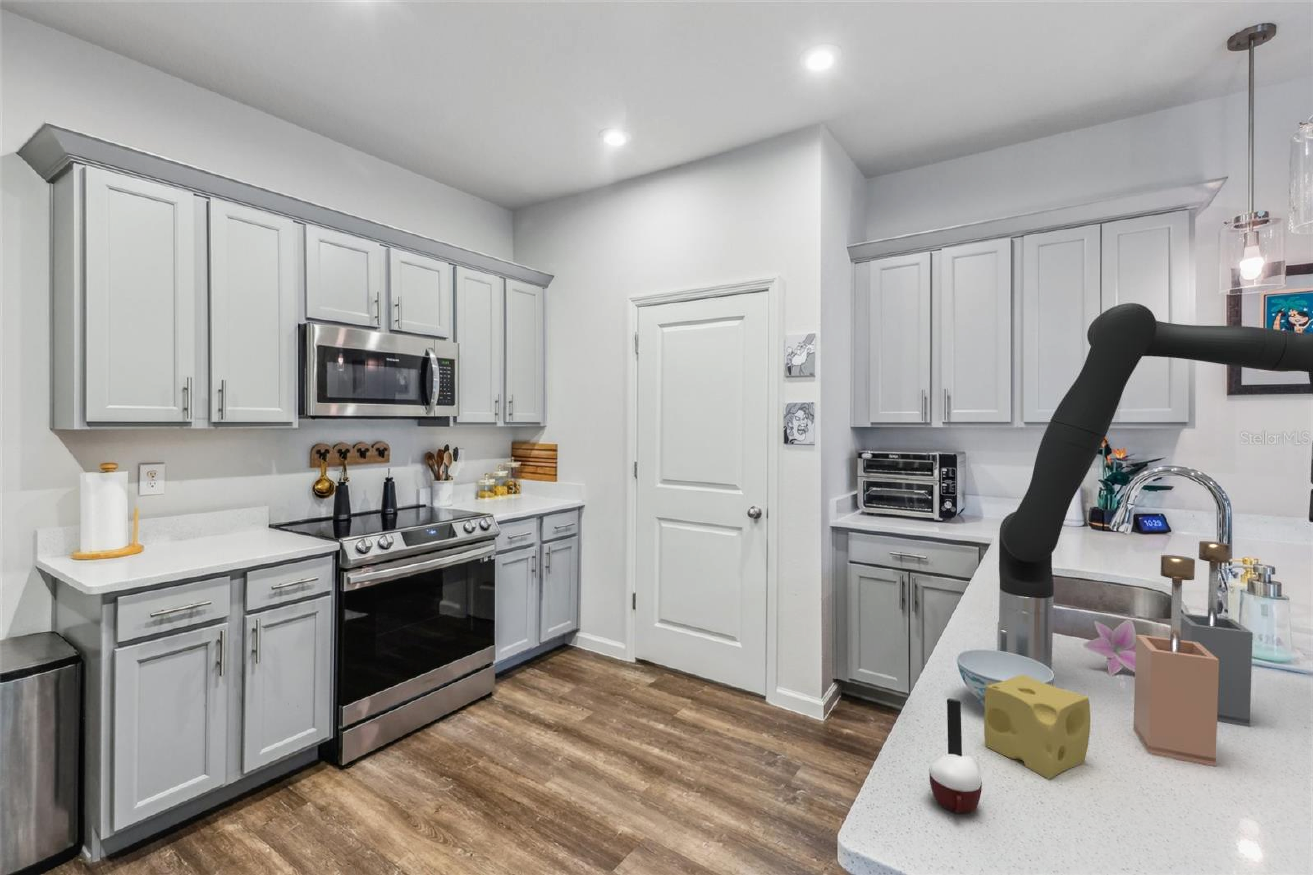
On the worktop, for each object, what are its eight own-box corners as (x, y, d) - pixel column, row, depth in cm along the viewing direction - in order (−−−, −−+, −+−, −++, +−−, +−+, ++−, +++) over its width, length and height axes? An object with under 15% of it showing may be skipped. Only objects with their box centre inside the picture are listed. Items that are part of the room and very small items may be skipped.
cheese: (1050, 781, 85) (1052, 712, 85) (979, 745, 95) (980, 682, 94) (1090, 763, 90) (1092, 697, 90) (1019, 730, 100) (1020, 670, 99)
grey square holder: (1188, 716, 104) (1191, 625, 104) (1172, 697, 112) (1175, 612, 111) (1249, 726, 101) (1252, 632, 101) (1229, 706, 108) (1232, 618, 108)
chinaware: (937, 697, 111) (938, 656, 111) (993, 684, 117) (994, 644, 117) (1013, 736, 97) (1014, 689, 97) (1072, 719, 103) (1074, 674, 103)
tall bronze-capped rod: (1198, 637, 105) (1201, 544, 104) (1187, 628, 109) (1190, 539, 109) (1237, 642, 102) (1240, 547, 102) (1224, 632, 107) (1227, 542, 107)
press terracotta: (1148, 753, 93) (1150, 650, 92) (1133, 729, 100) (1136, 634, 99) (1215, 766, 89) (1218, 660, 89) (1195, 740, 96) (1198, 642, 96)
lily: (1071, 670, 126) (1088, 639, 121) (1080, 635, 134) (1096, 605, 129) (1140, 702, 120) (1161, 671, 115) (1145, 664, 128) (1165, 633, 123)
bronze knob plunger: (1159, 663, 93) (1162, 559, 92) (1148, 652, 98) (1151, 553, 97) (1202, 670, 91) (1205, 563, 90) (1189, 658, 95) (1192, 556, 95)
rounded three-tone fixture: (969, 833, 75) (973, 741, 74) (917, 808, 79) (921, 721, 78) (991, 796, 82) (996, 711, 81) (943, 775, 86) (946, 695, 85)
